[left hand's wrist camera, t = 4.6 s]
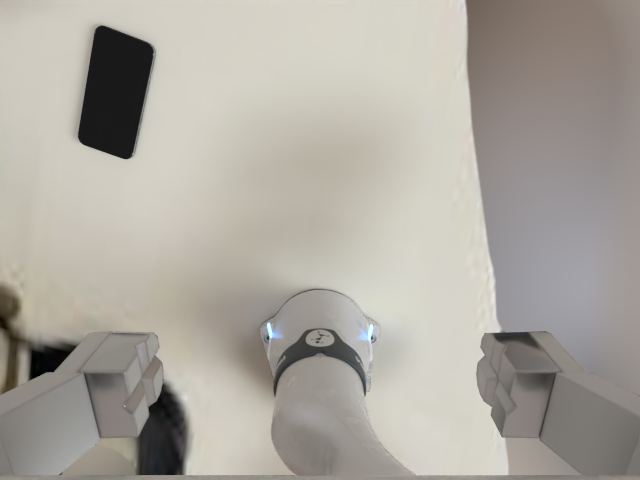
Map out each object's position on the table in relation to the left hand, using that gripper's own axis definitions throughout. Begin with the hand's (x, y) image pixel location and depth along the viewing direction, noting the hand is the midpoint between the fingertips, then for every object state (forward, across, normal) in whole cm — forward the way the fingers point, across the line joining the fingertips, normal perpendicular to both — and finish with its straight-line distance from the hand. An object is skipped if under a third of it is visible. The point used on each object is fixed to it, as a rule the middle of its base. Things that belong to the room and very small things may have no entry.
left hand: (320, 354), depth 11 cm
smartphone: (+48, -26, +4) cm, 55 cm away
